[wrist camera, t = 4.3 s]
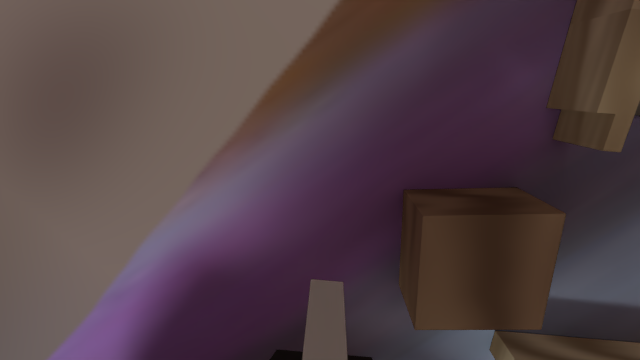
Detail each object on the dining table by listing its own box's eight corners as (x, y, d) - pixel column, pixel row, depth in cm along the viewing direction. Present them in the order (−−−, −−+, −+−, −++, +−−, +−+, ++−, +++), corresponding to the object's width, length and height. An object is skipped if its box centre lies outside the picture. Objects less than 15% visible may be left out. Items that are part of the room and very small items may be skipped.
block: (398, 283, 25) (415, 329, 20) (403, 188, 22) (423, 216, 18) (499, 282, 24) (541, 329, 20) (514, 186, 22) (566, 213, 17)
